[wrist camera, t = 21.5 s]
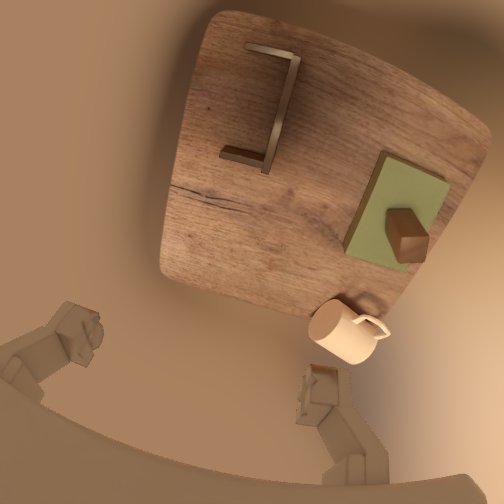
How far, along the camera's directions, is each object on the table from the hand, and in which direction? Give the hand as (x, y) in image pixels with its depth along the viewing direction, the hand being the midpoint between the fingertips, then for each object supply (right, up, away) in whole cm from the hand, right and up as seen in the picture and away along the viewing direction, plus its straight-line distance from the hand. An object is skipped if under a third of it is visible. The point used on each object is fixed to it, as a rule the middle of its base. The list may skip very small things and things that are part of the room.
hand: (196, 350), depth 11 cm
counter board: (+23, +10, +32) cm, 41 cm away
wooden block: (+23, +8, +30) cm, 38 cm away
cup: (+15, -7, +39) cm, 42 cm away
